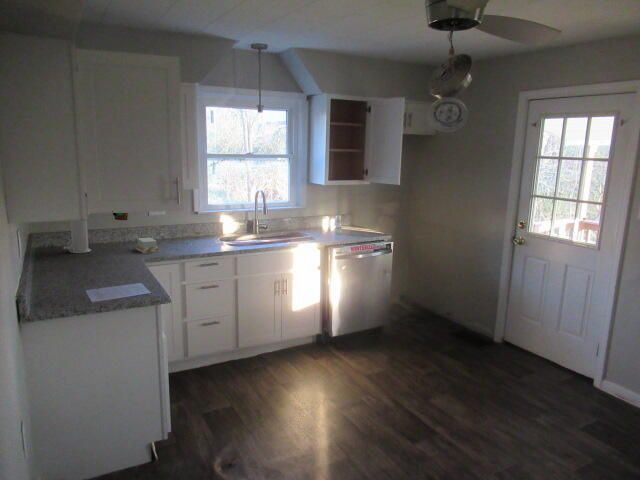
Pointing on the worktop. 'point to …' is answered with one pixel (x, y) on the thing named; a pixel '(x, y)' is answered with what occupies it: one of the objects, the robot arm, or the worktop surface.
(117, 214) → the food container
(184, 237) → the worktop surface
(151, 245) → the top slab
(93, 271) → the worktop surface
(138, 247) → the base slab
